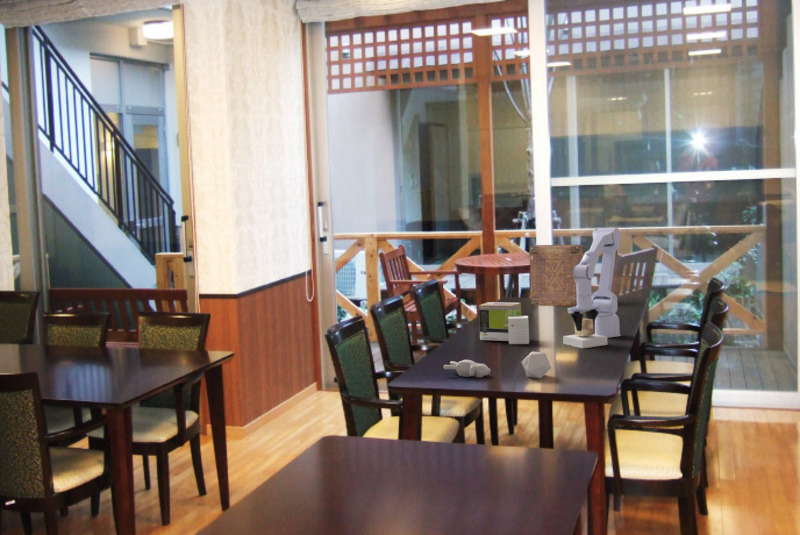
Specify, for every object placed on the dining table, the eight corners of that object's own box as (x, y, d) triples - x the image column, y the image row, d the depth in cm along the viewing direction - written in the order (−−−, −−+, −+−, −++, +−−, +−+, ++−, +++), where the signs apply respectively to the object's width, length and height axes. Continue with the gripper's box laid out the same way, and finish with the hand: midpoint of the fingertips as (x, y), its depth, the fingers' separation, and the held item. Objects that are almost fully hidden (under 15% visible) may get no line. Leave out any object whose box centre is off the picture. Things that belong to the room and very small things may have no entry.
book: (530, 305, 451) (528, 246, 448) (534, 302, 460) (533, 245, 457) (580, 306, 442) (579, 246, 439) (583, 303, 450) (582, 244, 447)
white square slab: (587, 340, 352) (587, 332, 352) (607, 344, 342) (607, 336, 341) (563, 343, 347) (563, 336, 347) (582, 348, 336) (582, 340, 336)
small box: (529, 341, 355) (528, 315, 354) (529, 344, 349) (528, 317, 348) (509, 341, 356) (508, 315, 355) (508, 344, 350) (507, 318, 349)
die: (525, 375, 299) (513, 355, 294) (547, 361, 299) (536, 340, 294) (535, 389, 292) (524, 368, 287) (558, 374, 292) (547, 353, 287)
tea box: (522, 337, 363) (521, 302, 361) (513, 342, 354) (512, 305, 352) (488, 336, 370) (487, 301, 368) (479, 340, 361) (478, 304, 360)
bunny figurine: (483, 368, 291) (442, 360, 298) (482, 383, 292) (440, 375, 299) (493, 362, 300) (453, 354, 306) (492, 377, 301) (452, 369, 307)
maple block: (585, 333, 348) (584, 318, 347) (593, 334, 343) (592, 319, 343) (575, 334, 346) (574, 319, 345) (583, 336, 341) (582, 320, 341)
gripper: (592, 292, 349) (593, 326, 351) (562, 296, 343) (563, 330, 344) (604, 294, 343) (604, 328, 344) (573, 297, 337) (574, 333, 338)
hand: (584, 329), depth 344 cm, fingers closed on maple block, 5 cm apart
